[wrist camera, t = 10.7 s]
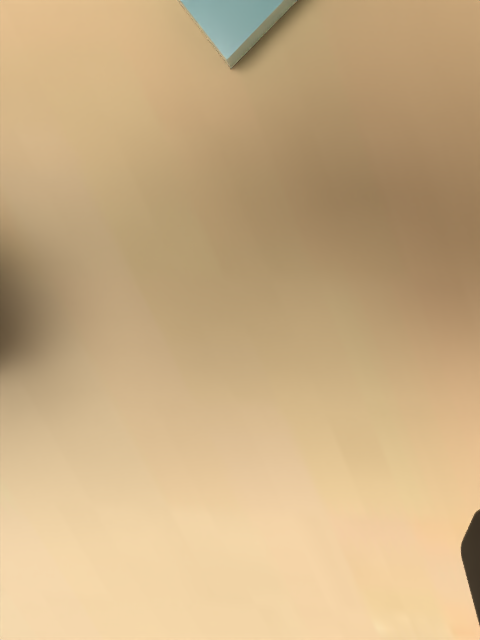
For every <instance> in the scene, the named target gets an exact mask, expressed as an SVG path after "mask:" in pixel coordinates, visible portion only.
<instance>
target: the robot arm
mask: <svg viewBox="0 0 480 640" xmlns="http://www.w3.org/2000/svg"><path fill="white" fill-rule="evenodd" d="M461 556H462V561H463V565H464V568H465V572H466V576H467V580H468V584H469V587H470V591H471V595H472V599H473V602H474V606H475V610H476V614H477V618H478V621H479V625H480V509H479V510H478V511H477V512H476V513H475V514H474V516H473V518H472V521H471V523H470V525H469V527H468V530H467V532H466V534H465V536H464V538H463V541H462V544H461Z"/></svg>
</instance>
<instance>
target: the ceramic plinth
mask: <svg viewBox="0 0 480 640" xmlns="http://www.w3.org/2000/svg"><path fill="white" fill-rule="evenodd" d="M177 1H178V2H179V3H180V4H181V6H182V7H183V8H184V10H185V11H186V12H187V13H188V15H189V16H190V17H191V19H192V20H193V21H194V22H195V24H196V25H197V26H198V27H199V29H200V30H201V31H202V33H203V34H204V35H205V36H206V38H207V39H208V40H209V42H210V43H211V44H212V45H213V47H214V48H215V49H216V51H217V52H218V53H219V54H220V56H221V57H222V58H223V60H224V61H225V62H226V63H227V65H228V66H229V67H230V69H231V68H232V67H233V66H234V65H235V64H236V63H237V62H238V61H239V60H240V59H241V58H242V57H243V56H244V55H245V54H246V53H247V52H248V51H249V50H250V49H251V48H252V47H253V46H254V45H255V44H256V43H257V42H258V41H259V40H260V39H261V38H262V36H263V35H264V34H265V33H266V32H267V31H268V30H269V29H270V28H271V27H272V26H273V25H274V24H275V23H276V22H277V21H278V20H279V19H280V18H281V17H282V16H283V15H284V14H285V13H286V12H287V11H288V10H289V9H290V8H291V7H292V6H293V5H294V3H295V2H296V1H297V0H177Z"/></svg>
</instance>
